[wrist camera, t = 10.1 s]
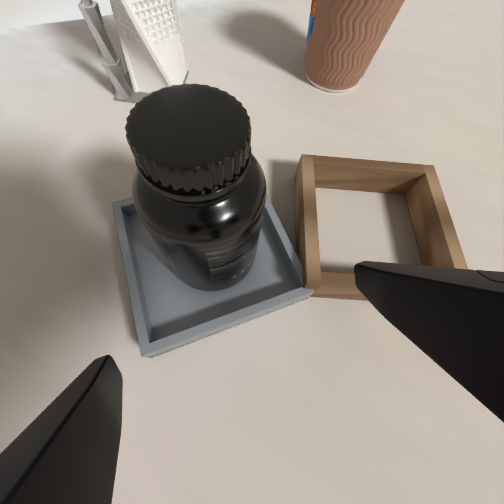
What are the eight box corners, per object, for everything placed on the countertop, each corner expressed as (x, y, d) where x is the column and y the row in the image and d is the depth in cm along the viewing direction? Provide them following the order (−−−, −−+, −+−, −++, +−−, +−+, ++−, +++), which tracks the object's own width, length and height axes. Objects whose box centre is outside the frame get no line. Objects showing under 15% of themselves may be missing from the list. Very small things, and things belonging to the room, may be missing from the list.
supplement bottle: (259, 221, 22) (282, 78, 11) (250, 298, 19) (270, 205, 8) (181, 212, 22) (128, 58, 11) (160, 287, 19) (62, 179, 8)
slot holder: (445, 305, 21) (476, 295, 18) (297, 295, 20) (307, 284, 17) (412, 187, 26) (433, 165, 23) (294, 177, 25) (301, 154, 23)
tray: (307, 298, 20) (314, 291, 18) (150, 357, 18) (141, 356, 16) (252, 182, 25) (253, 167, 23) (121, 216, 22) (111, 202, 20)
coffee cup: (318, 44, 36) (354, -98, 25) (384, 75, 34) (455, -66, 23) (275, 76, 32) (296, -75, 21) (346, 114, 30) (409, -33, 19)
